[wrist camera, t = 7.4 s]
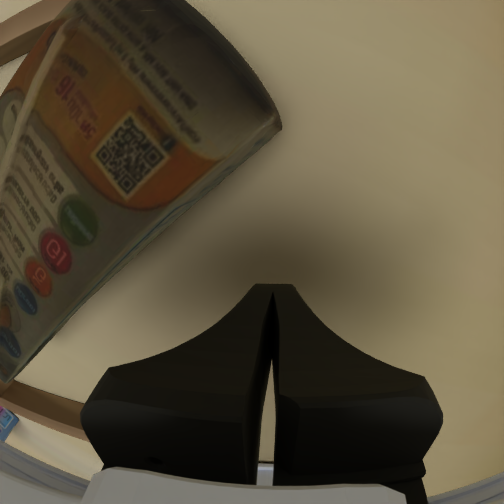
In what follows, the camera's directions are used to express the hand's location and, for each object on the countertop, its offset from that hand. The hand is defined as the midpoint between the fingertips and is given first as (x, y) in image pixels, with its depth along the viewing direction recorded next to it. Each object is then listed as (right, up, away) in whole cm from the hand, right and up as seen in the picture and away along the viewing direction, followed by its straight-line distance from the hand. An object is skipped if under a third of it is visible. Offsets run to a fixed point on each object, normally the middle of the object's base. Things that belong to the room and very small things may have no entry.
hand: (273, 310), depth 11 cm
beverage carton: (-9, +5, +4) cm, 11 cm away
